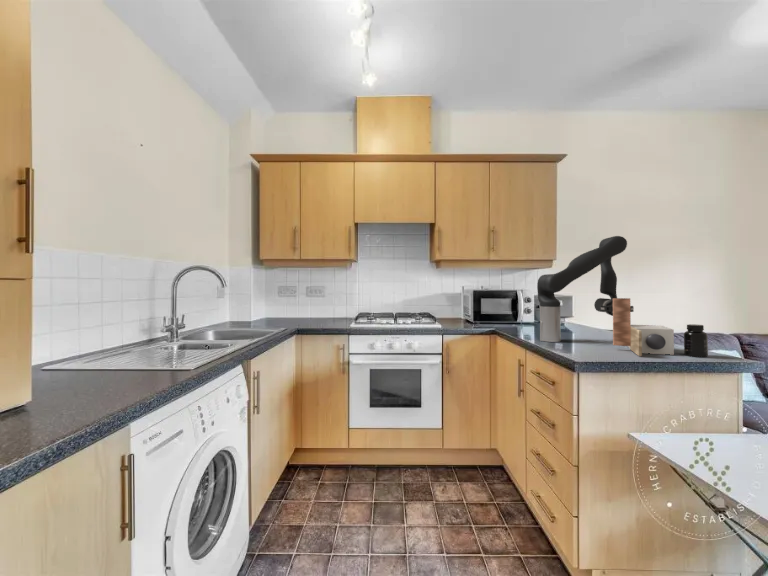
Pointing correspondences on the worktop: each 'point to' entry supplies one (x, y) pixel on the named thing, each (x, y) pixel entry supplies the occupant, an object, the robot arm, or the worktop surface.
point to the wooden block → (625, 327)
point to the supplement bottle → (695, 341)
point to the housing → (656, 339)
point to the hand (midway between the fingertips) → (621, 310)
